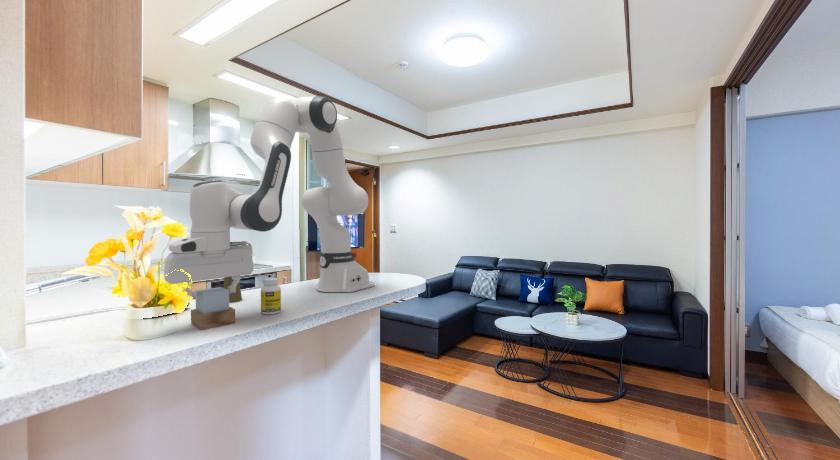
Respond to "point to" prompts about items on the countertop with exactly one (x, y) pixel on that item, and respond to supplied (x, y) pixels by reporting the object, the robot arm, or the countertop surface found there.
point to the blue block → (212, 299)
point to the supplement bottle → (270, 296)
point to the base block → (212, 318)
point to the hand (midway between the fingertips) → (212, 295)
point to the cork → (233, 296)
